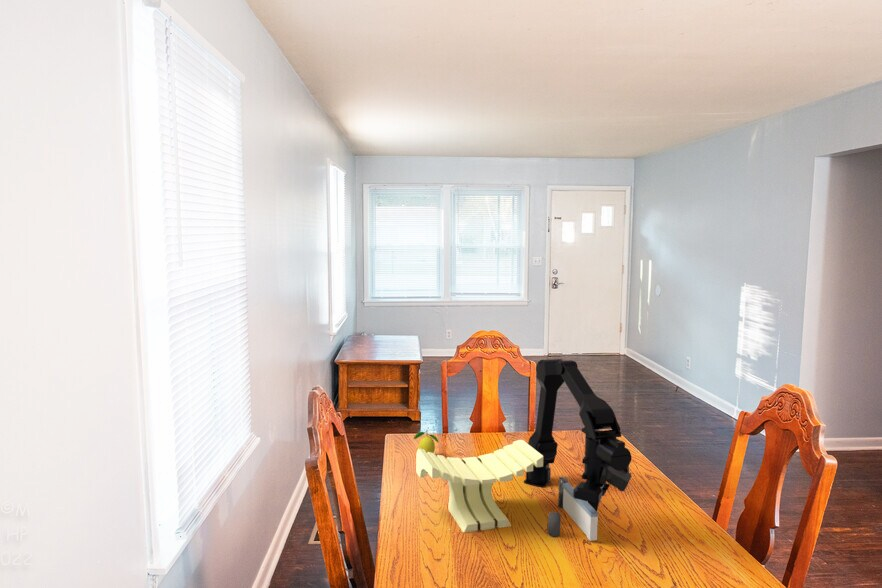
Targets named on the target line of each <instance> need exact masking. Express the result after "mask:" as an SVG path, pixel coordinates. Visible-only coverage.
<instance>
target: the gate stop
mask: <svg viewBox="0 0 882 588" xmlns="http://www.w3.org/2000/svg"><path fill="white" fill-rule="evenodd" d="M561 516H562V515H561V514H560V513H559V512H556V511H550V512H549V513H548V518H547V519H548V521H547V522H548V524H547V535H548V536H550V537H553V538H557V537H560V536H561V520H562V518H561Z"/></svg>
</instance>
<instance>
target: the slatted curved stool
mask: <svg viewBox="0 0 882 588" xmlns="http://www.w3.org/2000/svg"><path fill="white" fill-rule="evenodd" d="M415 457H416V458H415V459H416V460H415V461H416V462H415V465H416V466H415V473H416V474H417V475H418V476H417V477H419V479H421V478H423V477H424V478H425V477H427V476H428V475H429V476H430V478H431V479H439V478H440V479H441V480H442V481H443V482H446V481H447V484H448V488H449V498H448V504H447V505H448V506H447V508H448V511H449V513H450V514H451V516H452V517H453V518H454V521H455V522H456V523H457V525H458V527H459V529H460V530H461V531H462V533H470V532H478V530H480V531H484V530H485V531H486V530H493V529H496V527H497V528H498V529H501V528H507V527H512V525H511V523H510V521H509V519H508V517H507V516H506V515H505V514H504V513H503V511H502V510H501V509H500V508H499V506H498V505H497V503H496V501H495V500H494V497H493V493H492V486H493V484H494V483H496V482H497V481H498V482H499V483H503V482H510V481H512V482H513V481H514V476H515V477H523V476H524V471H525V473H526V472H530V471H533V465H534V466H535V467H543V455H541V454H540V453H539V452H538V451H536V450H535V449H534V448H532V447H531V446H530V445H529V444H528V443H527V442H526V441H525V440H524V439H517V440H514V441H513V442H512V443H511V444H508V445H507V444H506V445H504V446H503V448H500V449H497V450H494V451H493V453H492V452H489V453H485V454H480V455H478V457H476V456H469V457H468V456H467V457H462V459H461V457H449V456H448V457H445V456H444V455H441V454H437V455H436V453H435V452H434V453H431V452H428V453H426V451H425V450H424V449H419V448H418V449H417V450H416V455H415Z"/></svg>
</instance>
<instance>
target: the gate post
mask: <svg viewBox="0 0 882 588" xmlns="http://www.w3.org/2000/svg"><path fill="white" fill-rule="evenodd" d="M563 483H569V479H568V478H567V477H565V476H564V477H563V476H560V477H559V478H558V501H557V502H558V503H557V506H558V508H559V509H561V510H562V509H563V489H564V488H563ZM563 510H564V509H563Z"/></svg>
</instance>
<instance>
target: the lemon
mask: <svg viewBox="0 0 882 588" xmlns="http://www.w3.org/2000/svg"><path fill="white" fill-rule="evenodd" d="M425 433H426V435H425ZM424 435H425V436H424ZM422 436H423V437H422ZM420 437H422V438H421V439H420V440H419V443H418V449H424V450H425V451H426V453H428V452H431V453H434V454H435V450H436V445H435V441H436V442H437V443H439V439H438V438H437V436H435V435H434V434H428V430H426V431H418V432H417V433H416V434H415V435H414V437H413V440H416V439H418V438H420Z"/></svg>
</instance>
